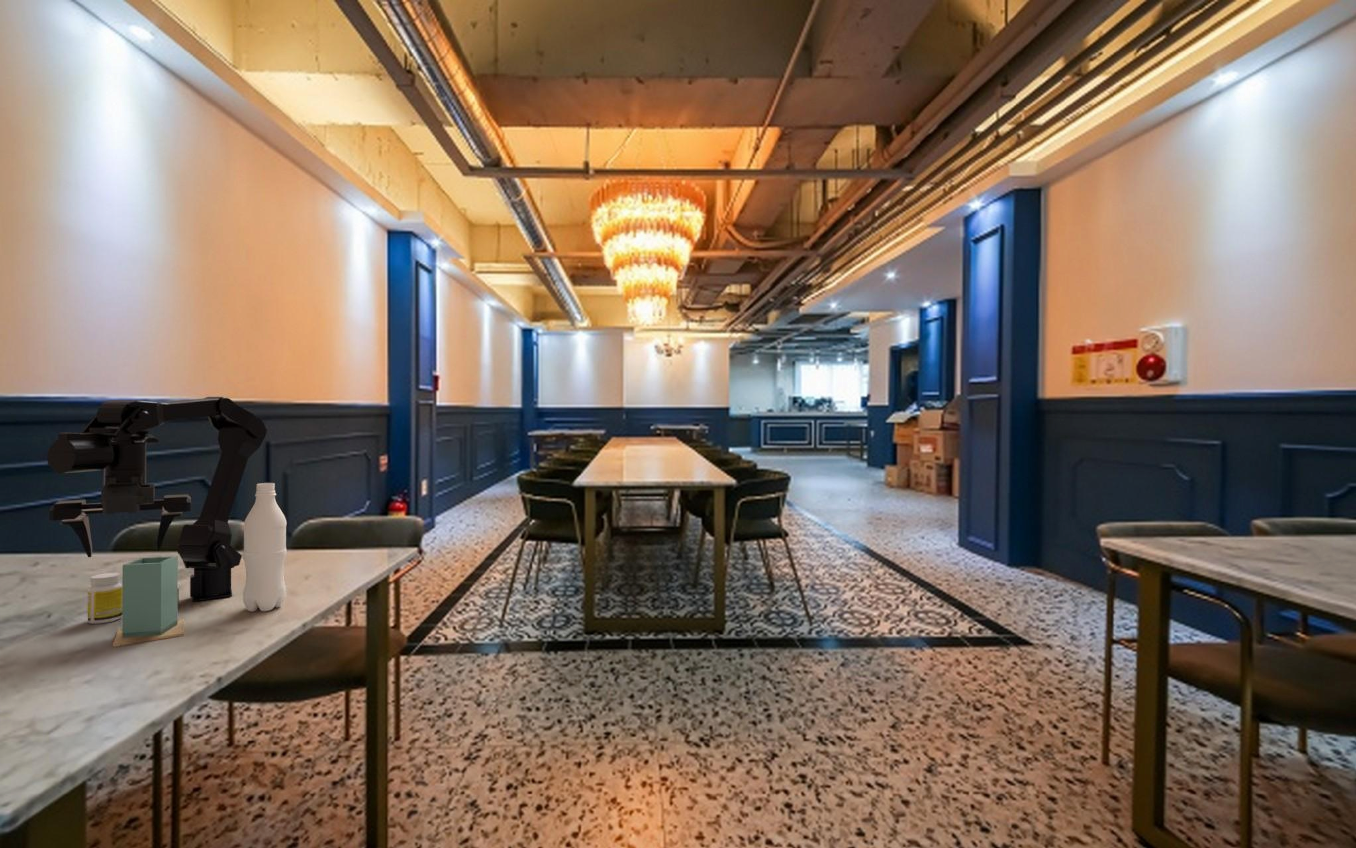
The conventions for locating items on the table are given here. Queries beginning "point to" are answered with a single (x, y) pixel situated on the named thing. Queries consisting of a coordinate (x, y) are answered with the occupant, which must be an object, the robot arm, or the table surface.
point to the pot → (149, 596)
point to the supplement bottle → (104, 598)
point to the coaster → (173, 632)
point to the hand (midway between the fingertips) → (124, 553)
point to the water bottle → (264, 552)
